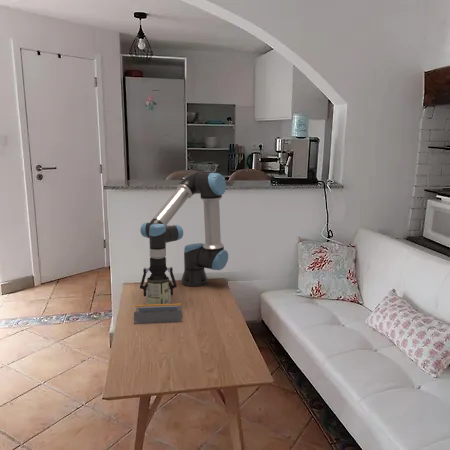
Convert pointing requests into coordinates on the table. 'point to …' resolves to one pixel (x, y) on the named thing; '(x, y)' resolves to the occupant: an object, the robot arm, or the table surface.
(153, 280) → the coffee can
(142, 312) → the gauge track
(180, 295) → the table surface
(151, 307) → the carriage
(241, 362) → the table surface
